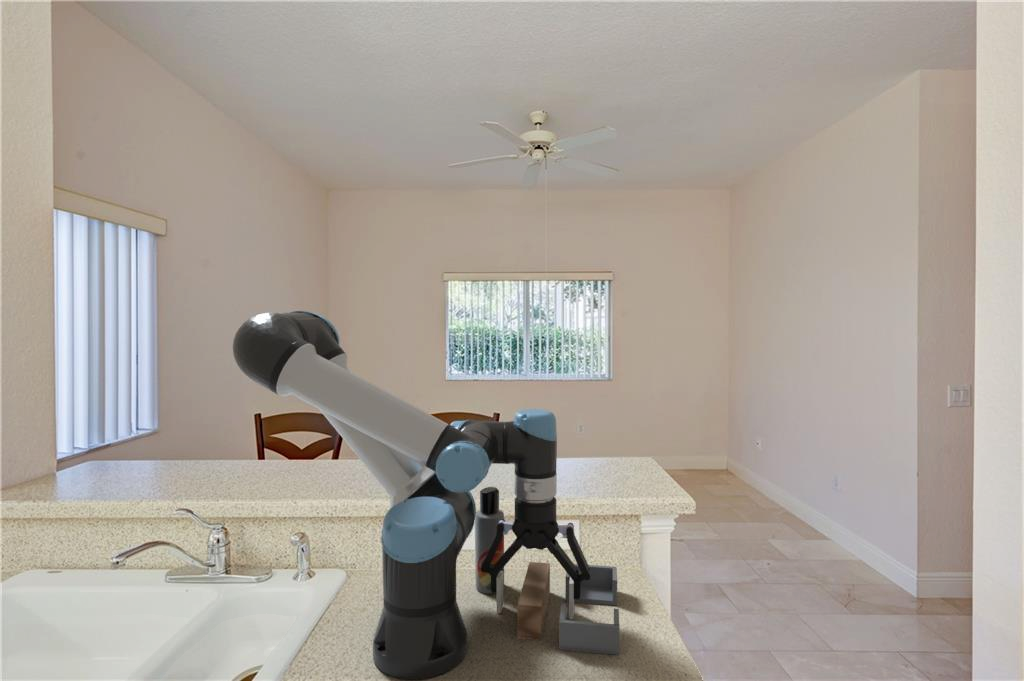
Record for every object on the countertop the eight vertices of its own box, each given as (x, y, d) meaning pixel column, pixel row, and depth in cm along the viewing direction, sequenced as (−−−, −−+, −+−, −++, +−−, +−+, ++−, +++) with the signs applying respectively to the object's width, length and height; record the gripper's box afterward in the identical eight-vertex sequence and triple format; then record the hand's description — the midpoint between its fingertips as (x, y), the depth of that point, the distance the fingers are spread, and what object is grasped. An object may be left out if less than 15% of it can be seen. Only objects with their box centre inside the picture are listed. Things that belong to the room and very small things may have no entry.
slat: (517, 638, 96) (517, 604, 95) (529, 591, 112) (529, 561, 111) (541, 641, 95) (541, 606, 95) (549, 593, 111) (549, 563, 111)
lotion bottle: (500, 595, 109) (500, 494, 108) (472, 592, 111) (471, 492, 109) (506, 581, 115) (506, 484, 114) (479, 579, 116) (479, 483, 115)
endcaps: (559, 650, 92) (559, 622, 92) (567, 586, 113) (567, 563, 113) (619, 656, 91) (619, 627, 90) (616, 590, 111) (616, 566, 111)
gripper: (463, 500, 100) (464, 617, 102) (604, 507, 96) (603, 629, 98) (473, 486, 108) (474, 596, 109) (604, 493, 104) (603, 606, 105)
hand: (535, 612), depth 103 cm, fingers open, 12 cm apart
